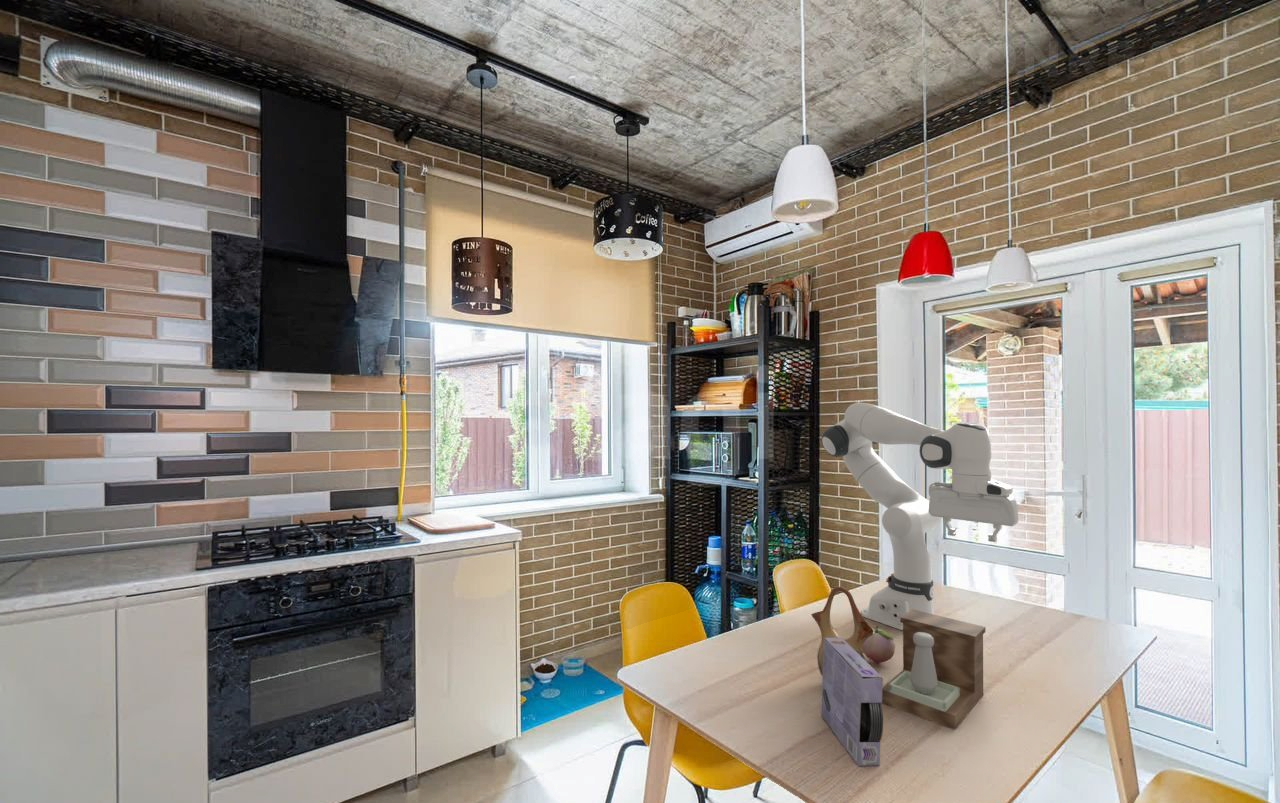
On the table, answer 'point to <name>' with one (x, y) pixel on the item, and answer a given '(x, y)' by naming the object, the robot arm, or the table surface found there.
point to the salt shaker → (923, 665)
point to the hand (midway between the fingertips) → (971, 538)
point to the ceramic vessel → (827, 631)
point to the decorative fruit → (879, 646)
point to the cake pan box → (852, 701)
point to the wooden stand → (944, 664)
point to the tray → (938, 700)
